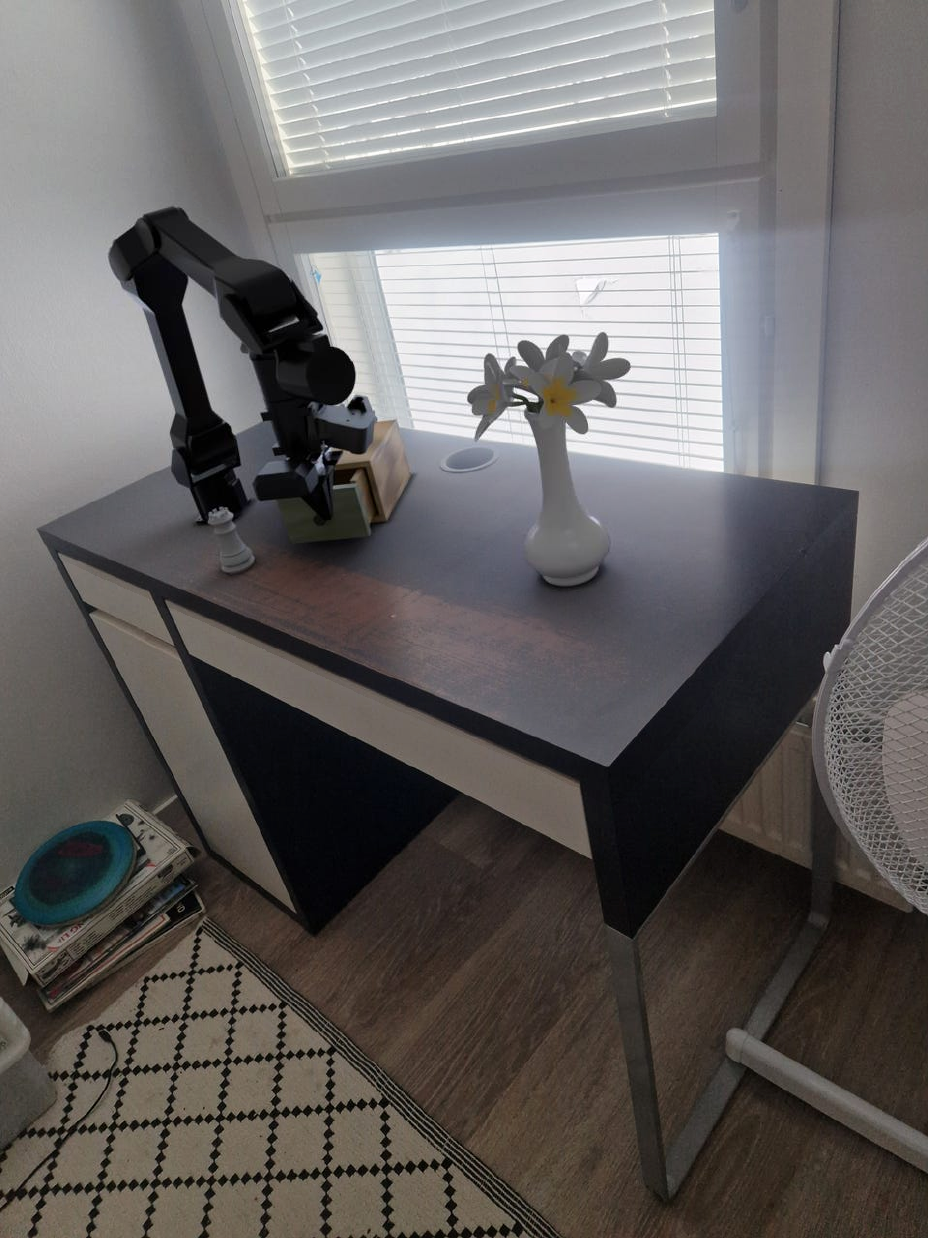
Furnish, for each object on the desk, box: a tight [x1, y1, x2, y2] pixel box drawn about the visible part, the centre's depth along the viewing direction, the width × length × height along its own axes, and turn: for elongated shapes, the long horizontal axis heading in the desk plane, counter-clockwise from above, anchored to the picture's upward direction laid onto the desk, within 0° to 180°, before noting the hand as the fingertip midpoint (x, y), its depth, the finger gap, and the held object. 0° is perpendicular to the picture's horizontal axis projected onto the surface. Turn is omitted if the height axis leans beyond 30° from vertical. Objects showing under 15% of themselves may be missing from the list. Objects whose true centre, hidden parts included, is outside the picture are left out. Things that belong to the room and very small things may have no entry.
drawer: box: [276, 467, 378, 544], centre depth 113 cm, size 14×11×7 cm
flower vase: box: [466, 331, 632, 587], centre depth 87 cm, size 13×18×25 cm
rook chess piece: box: [207, 507, 256, 575], centre depth 109 cm, size 4×4×8 cm
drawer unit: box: [331, 419, 412, 524], centre depth 119 cm, size 14×12×9 cm
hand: (328, 518), depth 102 cm, fingers closed
